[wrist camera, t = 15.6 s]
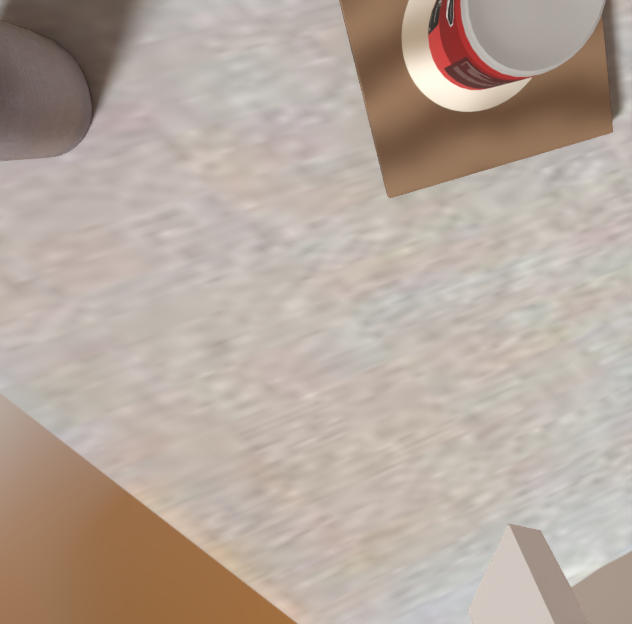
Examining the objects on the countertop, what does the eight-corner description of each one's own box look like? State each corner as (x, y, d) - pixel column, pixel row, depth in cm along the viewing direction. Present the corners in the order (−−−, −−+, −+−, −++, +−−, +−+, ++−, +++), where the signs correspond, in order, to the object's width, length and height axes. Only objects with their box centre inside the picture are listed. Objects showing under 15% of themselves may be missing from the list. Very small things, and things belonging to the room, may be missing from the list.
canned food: (502, -56, 34) (576, -137, 24) (547, 52, 36) (634, 20, 26) (405, 12, 36) (436, -36, 25) (455, 111, 38) (502, 104, 28)
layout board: (600, 132, 40) (614, 132, 38) (387, 195, 42) (390, 198, 40) (570, -161, 34) (585, -180, 32) (322, -69, 36) (321, -81, 34)
